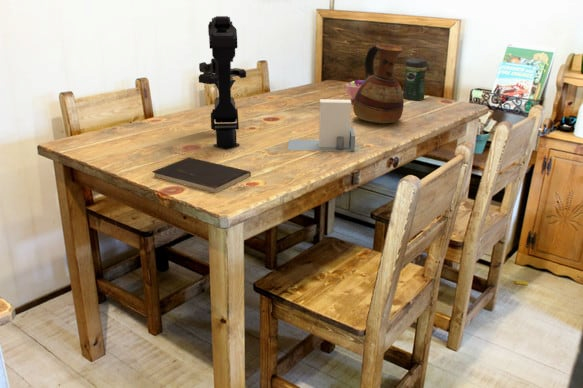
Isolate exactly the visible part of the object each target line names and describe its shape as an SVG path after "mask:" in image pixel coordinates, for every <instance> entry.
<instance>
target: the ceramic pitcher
mask: <svg viewBox="0 0 583 388" xmlns="http://www.w3.org/2000/svg"><path fill="white" fill-rule="evenodd" d="M402 52H403V48H402V47H401V46H400V45H395V44H393V43H391V44H390V43H382V42H381V43H378V44H374V45H373V46H371V47H370V48H369V49H368V51H367V53H366V57H365V61H364V70H365V81H364V82H363V83H362V85H361V86H360V88H359V89H358V91H357V93H356V95H355V99H353V104H352V109H353V113H354V114H355V116H356V117H357V118H358V119H360V120H362V121H365V122H369V123H373V124H374V123H375V124H390V123H391V124H392V123H395V122H398V121H399V120H400V119H401V118H402V115H403V111H404V105H405V104H404V103H405V102H404V98H403V90H402V87H401V85H400V83H399V81H397V79H396V78H395V76H394V67H395V64H396V60H397V58H398V56H399V55H400V54H401V53H402ZM377 53H378V55H379V61H378V67H377V70H376V71H374V61H375V57H376V55H377Z"/></svg>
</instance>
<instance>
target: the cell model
mask: <svg viewBox="0 0 583 388" xmlns="http://www.w3.org/2000/svg"><path fill="white" fill-rule="evenodd" d="M365 80H366V79H365ZM365 80H364V79H363V80H362V79H360V80H359V79H355V80H353V81H349V82H347V83H345V90H346V93H347V94H348V95H349V97H351V99H353V100H354V99H355V95H356V93H357V91H358V89H359V88H360V86H361V85H362V83H363V82H364V81H365Z"/></svg>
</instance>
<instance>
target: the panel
mask: <svg viewBox="0 0 583 388" xmlns="http://www.w3.org/2000/svg"><path fill="white" fill-rule="evenodd" d="M351 114H352V100H351V99H327V98H326V99H322V98H320V99H319V121H318V122H319V124H318V128H319V129H318V140H319V147H336V140H337V137H338V136H342V137H344V147H349V140H350V126H351V118H352V115H351Z"/></svg>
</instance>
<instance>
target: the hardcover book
mask: <svg viewBox="0 0 583 388" xmlns="http://www.w3.org/2000/svg"><path fill="white" fill-rule="evenodd" d="M151 173H153V174H154V175H153V176H154V177H155V176H156V177H155V178H157V177H159V178H158V179H161V178H162V179H163V180H165V179H167V180H166V181H169V180H170V182H172V181H174V182H173V183H176V182H177V184H180V185H184V184H185V186H188V185H189V186H188V187H191V186H193V187H192V188H195V187H196V188H195V189H199V188H200V189H201V190H204V191H207V192H211V193H214V194H215V193H216V194H217V193H218V192H220V191H222V190H224V189H227V188H228V187H229V188H230V187H231V186H233V185H235V184H237V183H239V182H241V181H244V180H246V179H247V178H249V177H251V175H252V173H251V171H250V170H246V169H242V168H237V167H233V166H228V165H226V164H225V165H223V164H220V163H215V162H211V161H208V160H203V159H199V158H193V157H186V158H183V159H181V160H179V161H176V162H173V163H171V164H168V165H166V166H163V167H159V168H158V169H155V170H152V172H151ZM200 189H199V190H200Z"/></svg>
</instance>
